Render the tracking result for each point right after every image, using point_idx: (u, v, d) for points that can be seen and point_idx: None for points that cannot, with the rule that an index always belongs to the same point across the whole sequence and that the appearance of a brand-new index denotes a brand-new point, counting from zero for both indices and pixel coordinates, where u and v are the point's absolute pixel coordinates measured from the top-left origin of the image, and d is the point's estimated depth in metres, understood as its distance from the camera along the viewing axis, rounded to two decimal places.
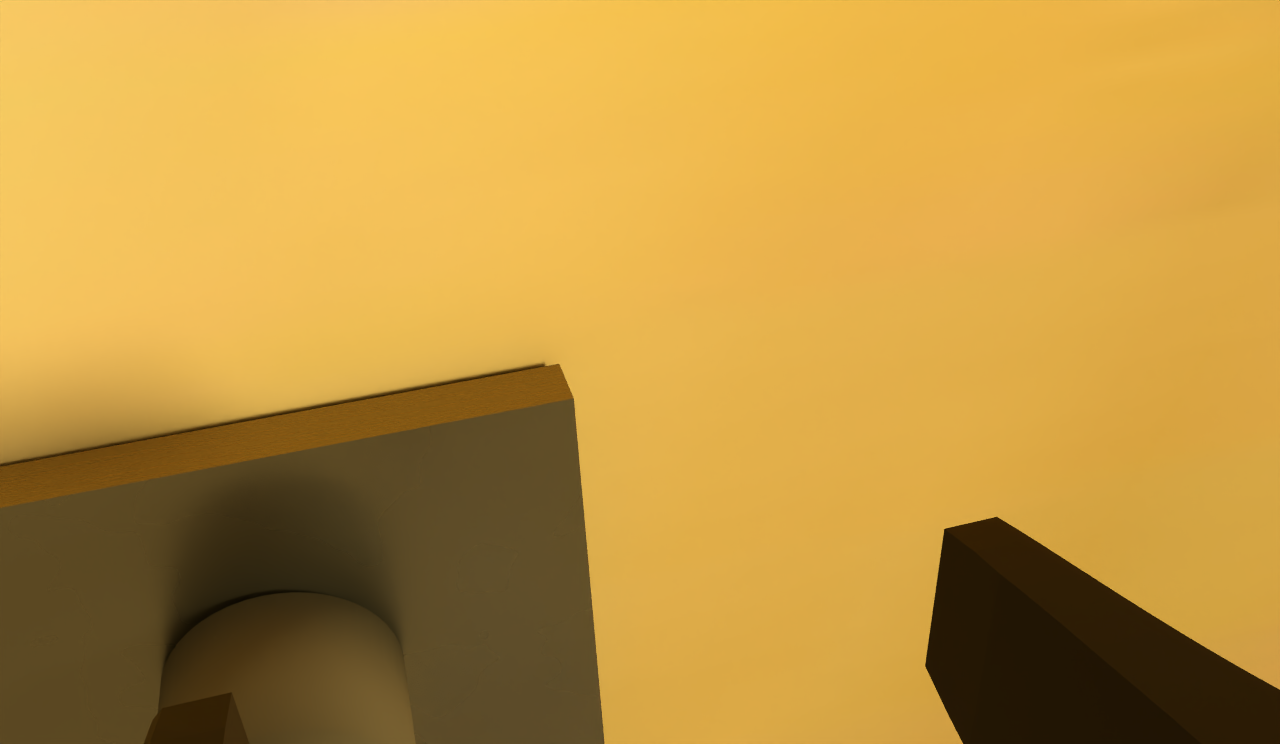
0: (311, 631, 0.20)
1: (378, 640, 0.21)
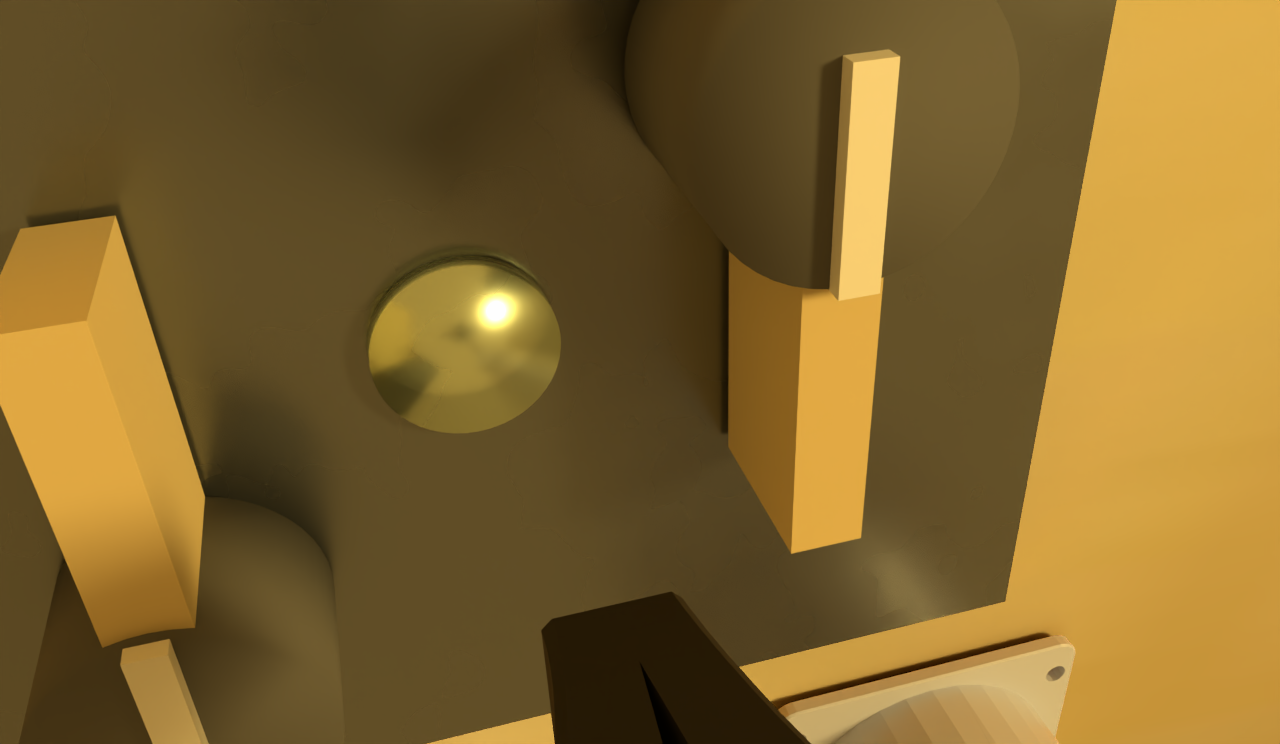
0: None
1: None
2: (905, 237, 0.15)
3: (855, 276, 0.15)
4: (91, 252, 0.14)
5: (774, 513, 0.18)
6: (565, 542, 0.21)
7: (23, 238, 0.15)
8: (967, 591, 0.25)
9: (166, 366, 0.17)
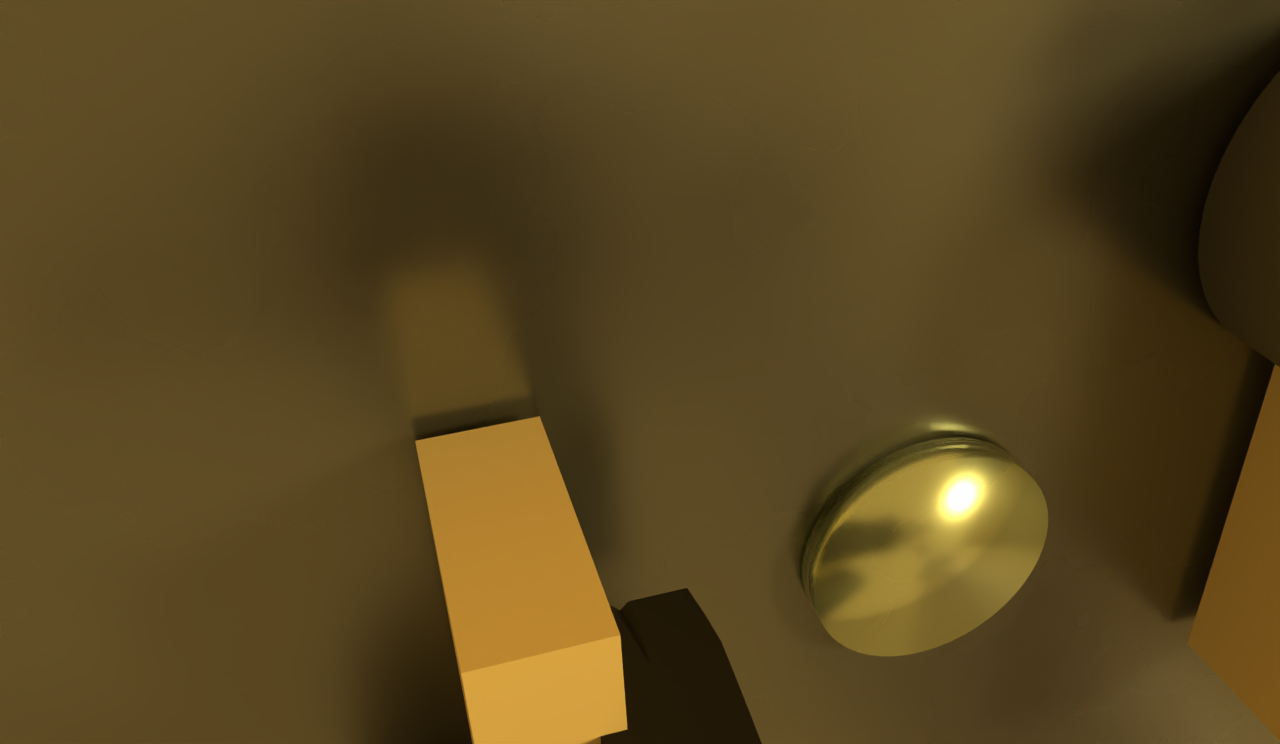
0: None
1: None
2: None
3: None
4: (545, 490, 0.10)
5: None
6: None
7: (429, 462, 0.10)
8: None
9: None
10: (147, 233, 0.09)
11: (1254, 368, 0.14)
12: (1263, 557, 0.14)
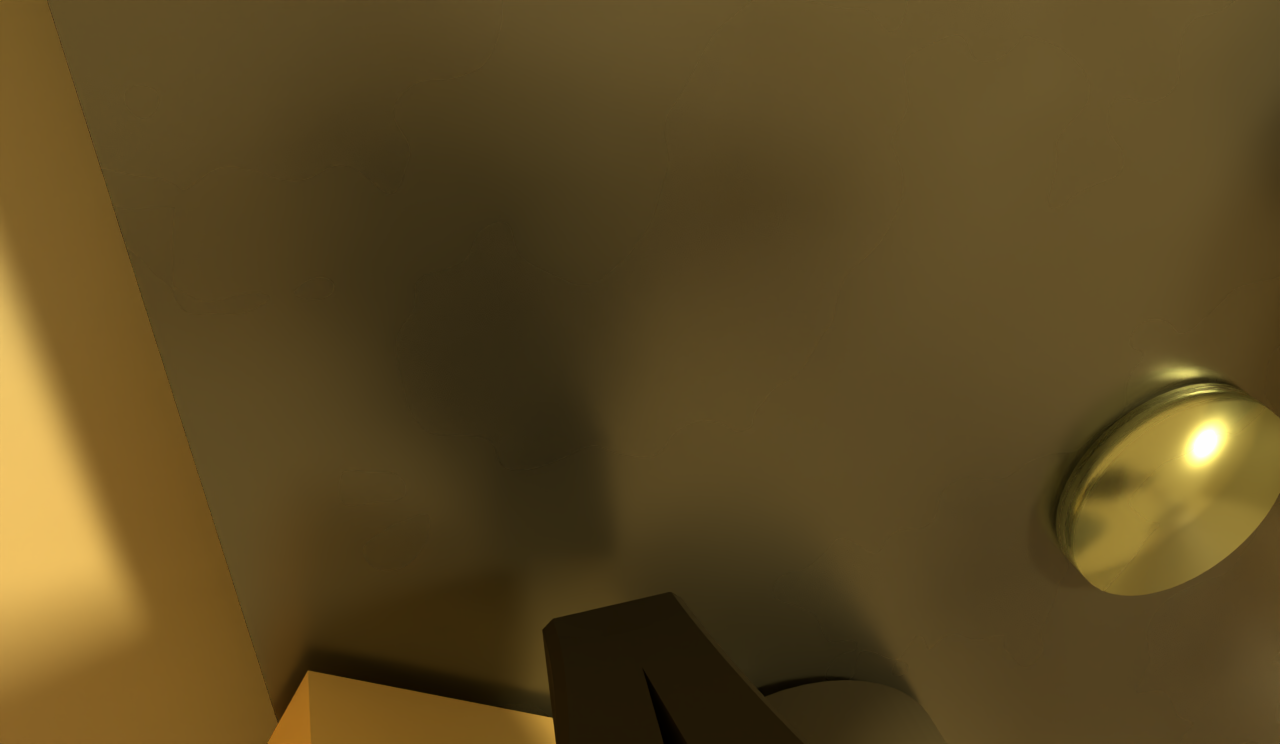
0: None
1: None
2: None
3: None
4: None
5: None
6: (1172, 705, 0.17)
7: None
8: None
9: (843, 529, 0.13)
10: (558, 168, 0.10)
11: None
12: None
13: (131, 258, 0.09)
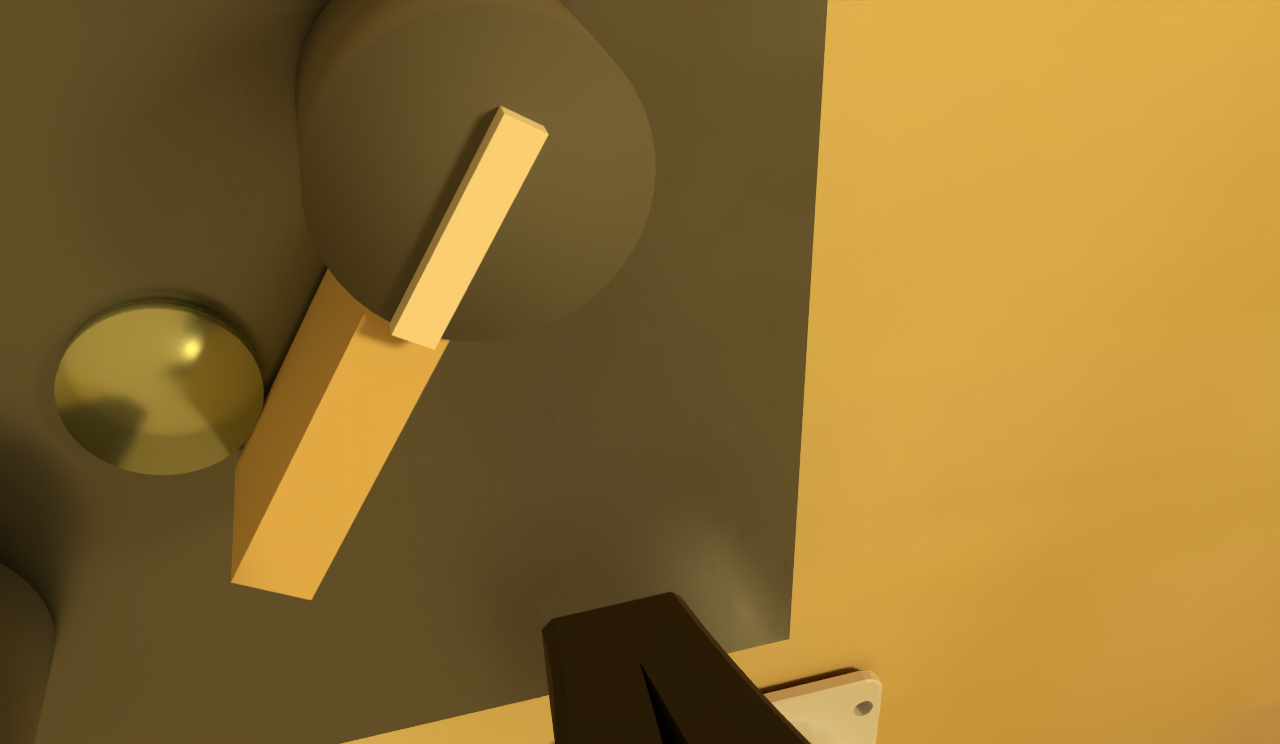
0: None
1: None
2: (484, 312, 0.15)
3: (418, 319, 0.14)
4: None
5: (238, 537, 0.17)
6: None
7: None
8: (747, 629, 0.24)
9: None
10: None
11: None
12: (287, 376, 0.17)
13: None
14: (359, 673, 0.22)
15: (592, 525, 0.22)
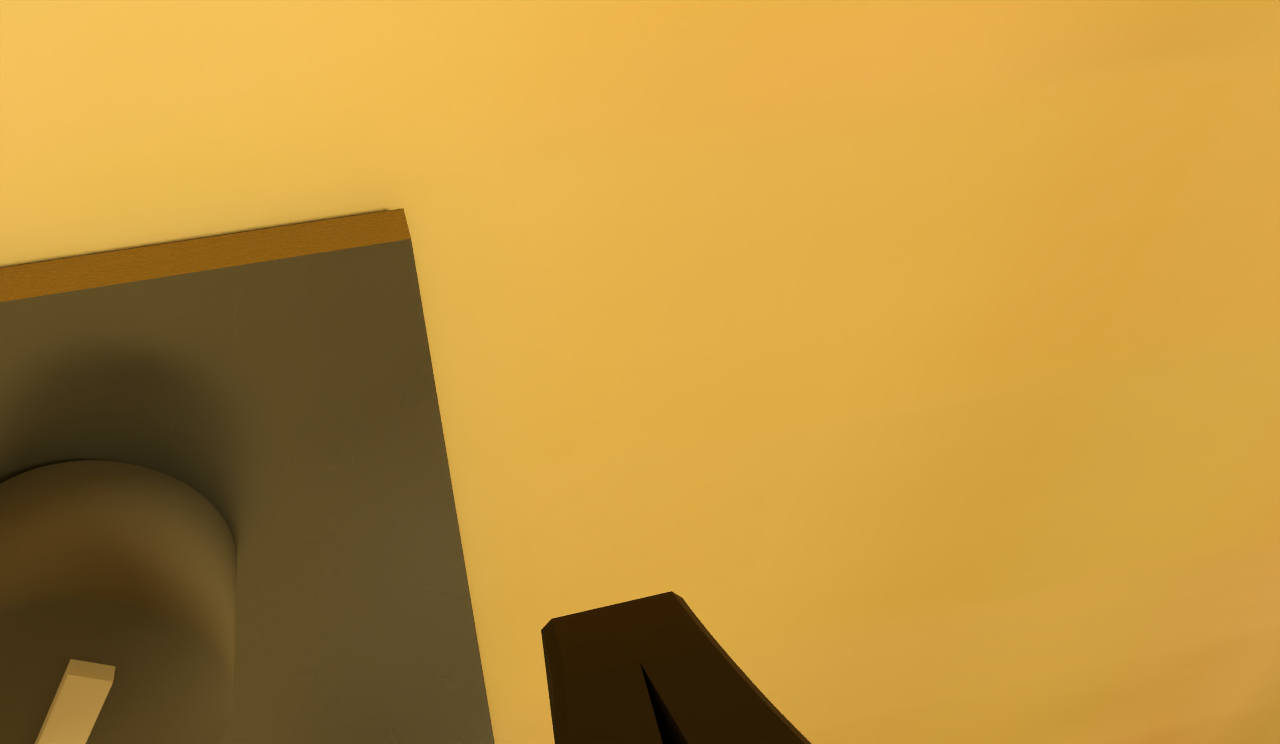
0: (186, 524, 0.18)
1: (233, 566, 0.19)
2: None
3: None
4: None
5: None
6: None
7: None
8: None
9: None
10: None
11: None
12: None
13: None
14: None
15: None
